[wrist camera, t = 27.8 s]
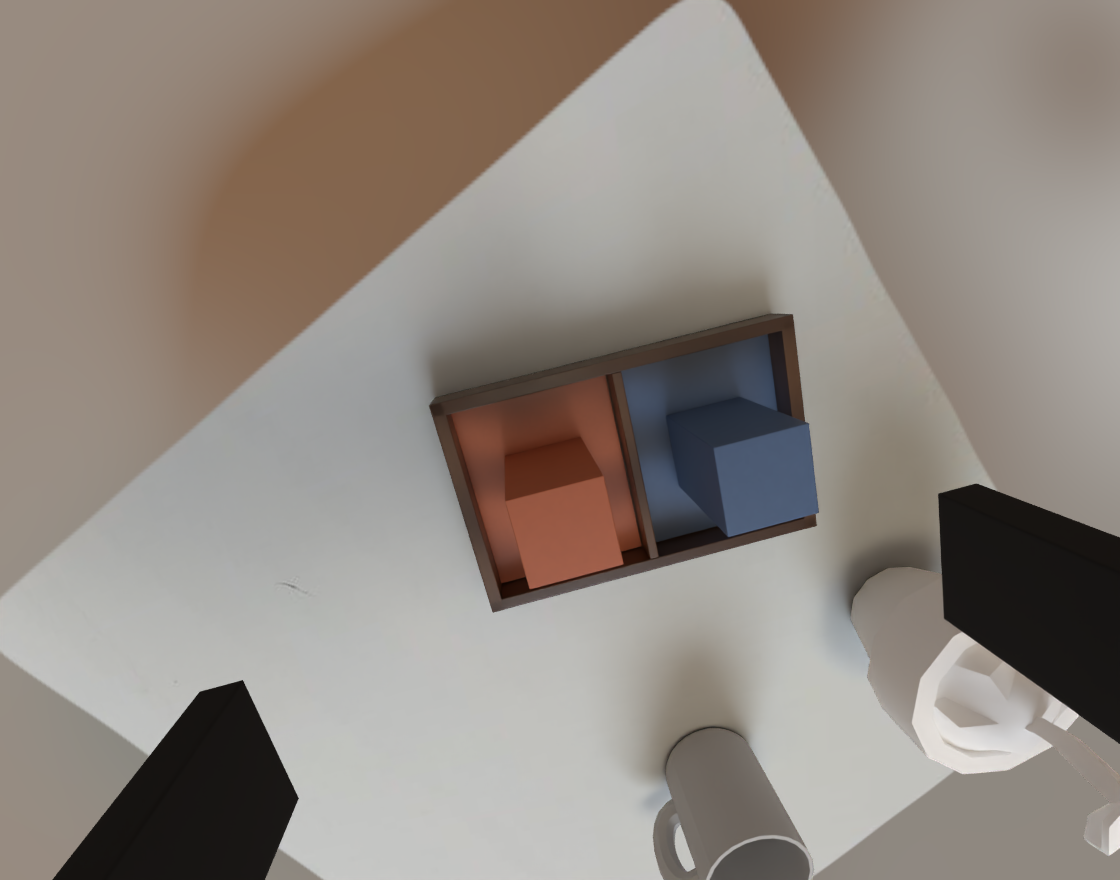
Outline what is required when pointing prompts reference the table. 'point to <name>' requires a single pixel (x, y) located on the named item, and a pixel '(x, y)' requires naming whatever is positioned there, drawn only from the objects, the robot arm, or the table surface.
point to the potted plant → (966, 693)
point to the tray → (614, 444)
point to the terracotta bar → (560, 513)
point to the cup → (726, 815)
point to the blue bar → (744, 464)
